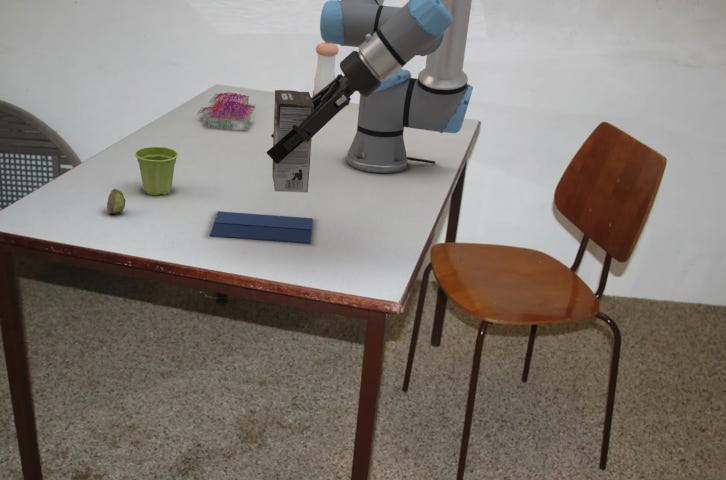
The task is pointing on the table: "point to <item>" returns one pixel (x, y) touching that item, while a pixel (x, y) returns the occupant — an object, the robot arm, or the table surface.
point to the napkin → (262, 227)
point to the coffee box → (296, 165)
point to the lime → (115, 202)
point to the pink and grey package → (227, 110)
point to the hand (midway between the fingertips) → (274, 149)
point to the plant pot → (156, 168)
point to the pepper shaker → (325, 65)
